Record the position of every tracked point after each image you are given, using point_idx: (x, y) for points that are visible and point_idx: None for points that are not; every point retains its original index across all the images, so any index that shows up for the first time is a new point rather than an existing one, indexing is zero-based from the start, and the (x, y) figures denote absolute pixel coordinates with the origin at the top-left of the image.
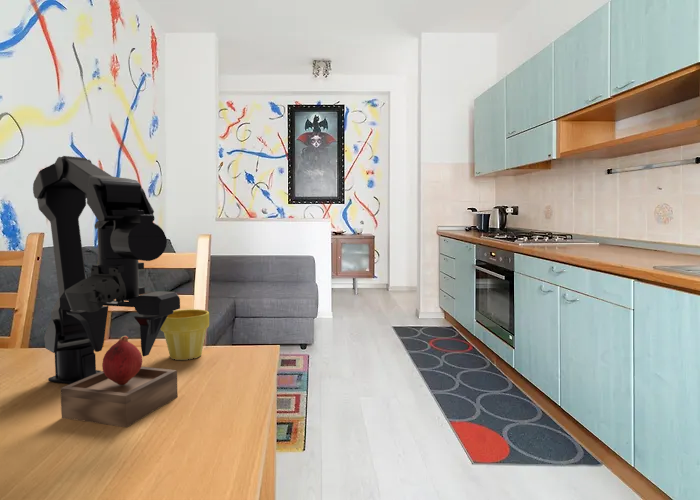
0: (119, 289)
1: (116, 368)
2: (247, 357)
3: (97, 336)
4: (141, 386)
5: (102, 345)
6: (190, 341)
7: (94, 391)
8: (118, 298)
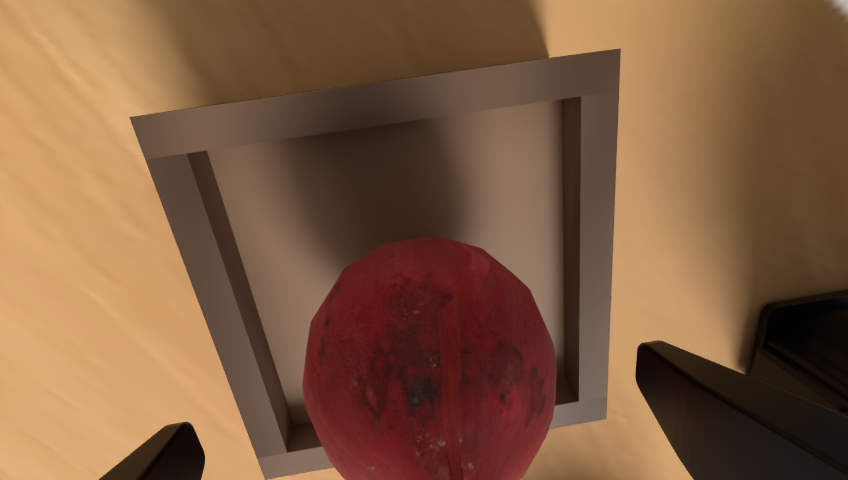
0: None
1: (356, 268)
2: None
3: (740, 457)
4: (203, 262)
5: (656, 415)
6: None
7: (378, 94)
8: None
